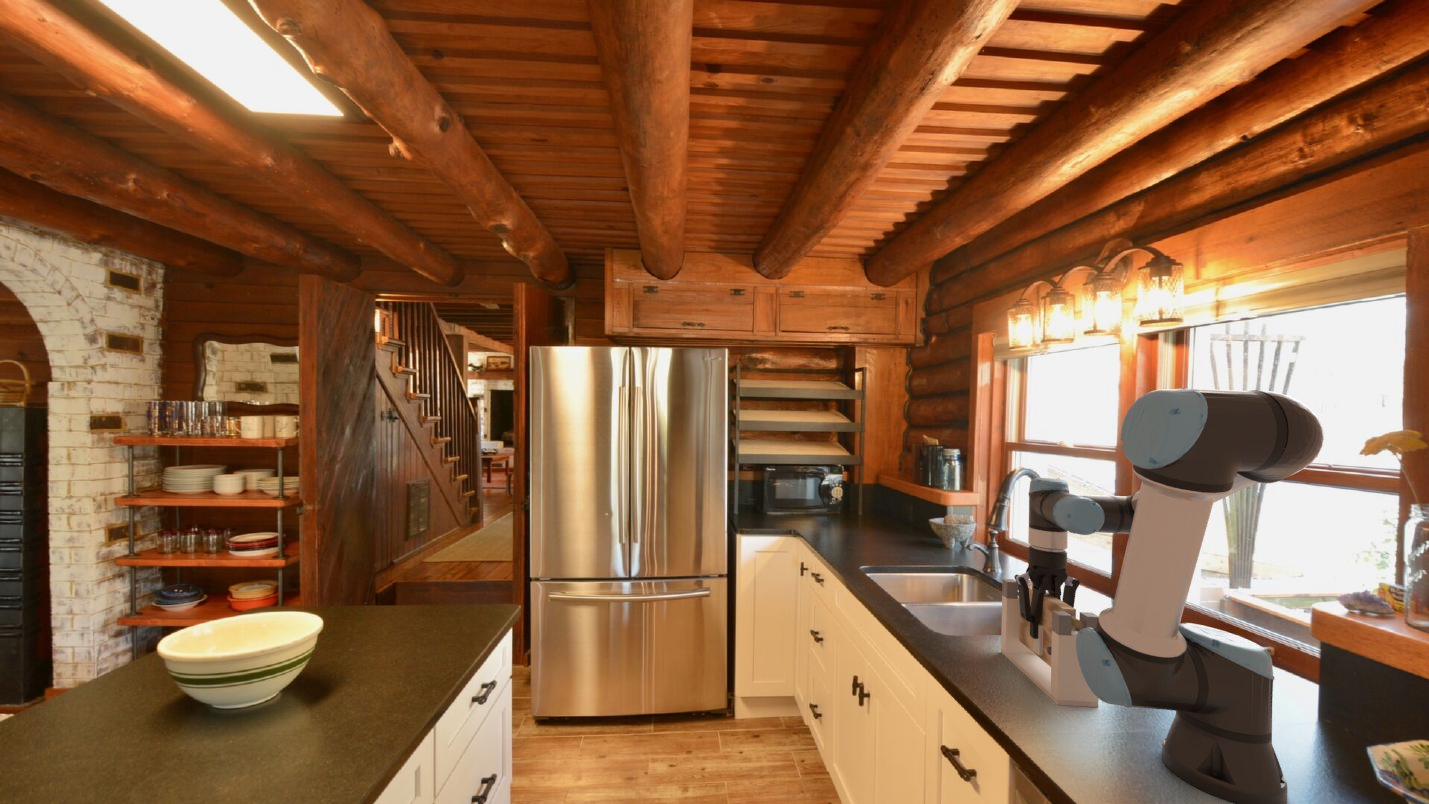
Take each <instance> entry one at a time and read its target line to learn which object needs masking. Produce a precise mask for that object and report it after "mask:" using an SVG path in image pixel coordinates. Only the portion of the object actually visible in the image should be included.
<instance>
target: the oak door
mask: <svg viewBox="0 0 1429 804" xmlns="http://www.w3.org/2000/svg"><path fill="white" fill-rule="evenodd" d="M1027 585H1028V588H1029V596H1030V607H1031V600H1032V594H1033V590H1032V586H1033V584H1032V583H1029V584H1027ZM1052 611H1065V612H1067V613H1068V614H1070V615H1071V616H1072V631H1077V630H1079V629H1081V628H1082V627H1083V623H1082V622H1081V621H1080V619H1077V609H1076V608H1073V607H1071V606H1069V605H1068V604H1066V603H1064V602H1063V601H1062V600H1059V599H1058V598H1056V597H1054V596H1052V595H1051V594H1049V592H1048V591H1046V594H1045V595H1044V599H1043V606H1042V612H1041V619H1040V624H1041V625H1043V656H1041V655H1038V654H1037V653H1036V652H1035V651H1033V638H1032V637H1031V636H1030V622H1028V621H1026V620H1025V619H1024V618H1022V617H1021V613H1020V633H1019V641H1020V642H1021V643H1022V644H1024V645H1025V646H1026V647H1027V648H1028V649H1030V650H1031V651H1032V652H1033V653H1034V654H1036V655H1037V656H1038V657H1039V658H1040V659H1042V660H1043V661H1044V662H1045V663H1046V664H1048V665H1049V666H1050V667H1051V647H1052ZM1076 629H1077V630H1076Z"/></svg>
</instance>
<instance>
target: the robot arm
mask: <svg viewBox="0 0 1429 804" xmlns="http://www.w3.org/2000/svg"><path fill="white" fill-rule="evenodd" d="M1324 438H1325V437H1324V430H1323V426H1322V424H1321V422H1320V420H1319V417H1317V415H1316V414H1315V413H1314V412H1313V410H1311V408H1310V407H1308V406H1307V405H1305V403H1303V402H1301V401H1300V400H1297V399H1296V398H1294V397H1292V396H1290V395H1286V394H1285V393H1284V394H1283V393H1280V392H1275V391H1271V390H1270V391H1269V390H1254V389H1253V390H1238V389H1237V390H1235V389H1233V390H1232V389H1209V388H1208V389H1206V388H1188V387H1178V388H1173V389H1171V388H1170V389H1167V388H1165V389H1155V390H1152V391H1149V392H1146V393H1145V394H1144V395H1143V396H1141V397H1139V398H1137V399H1136V400H1135V401H1134V402H1133V403H1132V404H1131V405H1130V407H1129V409H1128V410H1127V412H1126V414H1125V416H1124V418H1123V421H1122V424H1121V430H1120V440H1121V441H1123V442H1122V444H1121V449H1122V452H1123V454H1124V456H1125V459H1127V461H1129V462H1130V463H1131V464H1133V465H1132V471H1133V473H1134V474H1135V475H1136V476H1137V477H1138V478H1139V480H1140V481H1141V484H1140V487H1139V490H1138V491H1136V492H1134V493H1133V494H1131V495H1127V496H1121V495H1101V494H1100V495H1098V494H1078V493H1070V490H1069V484H1068V482H1067V481H1066V480H1064V479H1058V478H1048V477H1047V478H1046V477H1034V478H1032V479H1031V480H1030V482H1029V491H1028V540H1027V541H1028V544H1029V547H1028V548H1027V563H1028V566H1027V568H1026V570H1025V572H1024V573H1021V574H1020V575H1019V574H1015V575H1014V580H1015V581H1016V582H1017V584H1018V596H1019V602H1020V613H1021V617H1022V618H1024V619H1025V620H1026V621H1028V622H1030V636H1031V637H1032V638H1033V651H1035V652H1036V653H1037V654H1038V655H1041V656H1043V625H1041V624H1040V619H1041V612H1042V606H1043V599H1044V595H1045V594H1046V592H1047V593H1049V594H1051V595H1052V596H1054V597H1056V598H1058V599H1059V600H1061V599H1062V600H1061V601H1063V602H1064V603H1066V604H1068V605H1069V606H1071V607H1073V608H1074V607H1075V601H1076V600H1075V599H1076V593H1077V589H1078V588H1079V585H1081V582H1080V580H1079V579H1077V578H1074V577H1073V576H1070V575H1069V573H1068V571H1067V566H1068V552H1067V550H1066V549H1068V533H1069V534H1070V533H1071V534H1074V535H1075V534H1077V535H1080V536H1089V535H1092V534H1095V533H1103V534H1123V535H1124V534H1125V535H1128V540H1127V544H1126V548H1125V552H1124V556H1123V562H1122V563H1121V564H1122V565H1121V570H1120V574H1119V577H1118V582H1117V585H1116V586H1117V587H1116V591H1115V595H1114V599H1113V603H1112V606H1111V607H1106V608H1105V609H1103V610H1101V612H1099V615H1098V616H1099V617H1098V622H1097V626H1096V628H1091V627H1087V628H1083V629H1081V630H1080V631H1079V630H1078V631H1077V632H1078V634H1077V637H1076V652H1077V657H1078V662H1079V665H1080V668H1081V671H1082V674H1083V676H1084V678H1085V681H1086V683H1087V684H1088V686H1089V688H1090V689H1091V691H1092V692H1093V693H1094V694H1095V695H1096V696H1097V697H1098V700H1100V701H1102V703H1105V704H1108V705H1114V706H1121V707H1125V708H1127V709H1128V708H1129V709H1131V708H1140V709H1151V710H1154V709H1155V710H1164V711H1165V710H1167V711H1175V716H1174V718H1173V720H1172V721H1171V722H1172V723H1171V725H1170V727H1169V730H1168V733H1167V735H1166V736H1165V738H1164V739H1163V740H1162V744H1161V758H1162V759H1161V760H1162V761H1163V763H1164V764H1165V766H1166V767H1167V768H1168V769H1169V770H1170V771H1171V772H1173V773H1174V774H1175V775H1176V776H1177V777H1178V778H1180V779H1182V780H1183V781H1185V782H1186V783H1188V784H1190V785H1191V786H1193V787H1195V788H1198V789H1200V790H1201V791H1204V792H1205V793H1207V794H1210V795H1212V796H1215V797H1217V798H1219V799H1222V800H1226V801H1230V802H1232V803H1236V804H1287V802H1288V782H1287V780H1286V777H1285V776H1284V774H1283V770H1282V768H1281V764H1280V762H1279V759H1278V757H1277V754H1276V750H1275V748H1274V746H1273V695H1274V694H1273V691H1274V681H1275V676H1274V669H1273V659H1272V656H1271V655H1270V653H1269V651H1267V649H1265V648H1264V647H1263V646H1262V645H1260V644H1258V643H1256V642H1254V641H1252V640H1249V639H1247V638H1246V637H1243V636H1240V635H1237V634H1234V633H1232V632H1231V633H1230V632H1228V631H1225V630H1222V629H1219V628H1214V627H1213V626H1212V627H1211V626H1207V625H1202V624H1197V623H1191V622H1182V623H1181V621H1182V617H1183V612H1184V610H1185V606H1186V602H1187V599H1188V596H1189V591H1190V588H1191V585H1192V581H1193V577H1194V573H1195V570H1196V568H1197V567H1196V566H1197V563H1198V560H1199V559H1198V558H1199V556H1200V552H1201V548H1202V544H1203V543H1204V537H1205V535H1206V531H1207V527H1208V524H1209V523H1208V522H1209V519H1210V516H1211V512H1212V508H1213V506H1214V503H1216V502H1218V501H1221V500H1223V499H1225V498H1227V497H1229V496H1231V495H1233V494H1235V493H1237V492H1240V491H1242V490H1245V489H1247V488H1250V487H1251V486H1253V485H1254V484H1255V485H1256V484H1265V485H1266V484H1274V483H1278V482H1280V481H1282V480H1284V479H1287V478H1288V477H1291V476H1294V475H1295V474H1297V473H1299V472H1300V471H1303V470H1304V469H1305V468H1307V467H1308V466H1310V464H1312V463H1313V462H1314V460H1316V458H1317V457H1318V456H1319V454H1320V452H1321V451H1322V449H1323V446H1324V445H1323V444H1324ZM1029 580H1031V581H1032V583H1033V586H1032V590H1033V594H1032V600H1031V607H1030V596H1029V588H1028V585H1027V584H1029ZM1063 584H1064V586H1063ZM1062 586H1063V593H1062V589H1061V588H1062ZM1061 597H1062V598H1061ZM1074 609H1075V608H1074Z"/></svg>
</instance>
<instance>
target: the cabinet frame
mask: <svg viewBox="0 0 1429 804" xmlns="http://www.w3.org/2000/svg"><path fill="white" fill-rule="evenodd" d="M1029 583H1032V581H1031V580H1030V579H1029ZM1001 584H1002V587H1001V592H1002V593H1001V595H1002V596H1001V631H1000V633H1001V634H1000V635H1001V637H1000V640H1001V641H1000V653H1001V654H1002V655H1003V656H1004V657H1005V658H1006V659H1007V660H1009V661H1010V662H1011V663H1012V664H1013V665H1014V666H1015V667H1016V668H1017V669H1018V670H1019V671H1021V672H1022V673H1023V674H1024V676H1026V677H1027V678H1028V679H1029V680H1030V681H1031V682H1032V683H1033V684H1035V686H1036V687H1038V688H1039V689H1040V690H1041V691H1042V692H1043V693H1044V694H1045V696H1047V697H1048V698H1049V699H1050V700H1052V701H1053V703H1054V704H1056V706H1069V707H1070V706H1071V707H1087V708H1088V707H1089V708H1099V698H1098V697H1097V696H1096V695H1095V694H1094V693H1093V692H1092V691H1091V689H1090V688H1089V686H1088V684H1087V683H1086V681H1085V678H1084V676H1083V674H1082V671H1081V668H1080V665H1079V662H1078V657H1077V652H1076V637H1077V634H1078V632H1079V631H1080V630H1081V629H1083V628H1087V627H1091V628H1096V626H1097V622H1098V617H1099V615H1097V614H1096V613H1094V612H1087V611H1086V612H1083V611H1079V620H1080V621H1081V622H1082V623H1083V627H1082V628H1081V629H1078V631H1077V630H1076V631H1072V616H1071V615H1070V614H1068V613H1067V612H1065V611H1052V647H1051V667H1050V666H1049V665H1048V664H1046V663H1045V662H1044V661H1043V660H1042V659H1040V658H1039V657H1038V656H1037V655H1036V654H1034V653H1033V652H1032V651H1031V650H1030V649H1028V648H1027V647H1026V646H1025V645H1024V644H1022V643H1021V642H1020V641H1019V633H1020V602H1019V592H1018V584H1017V582H1016V580H1015V579H1013V578H1002V583H1001ZM1032 584H1033V583H1032Z"/></svg>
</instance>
